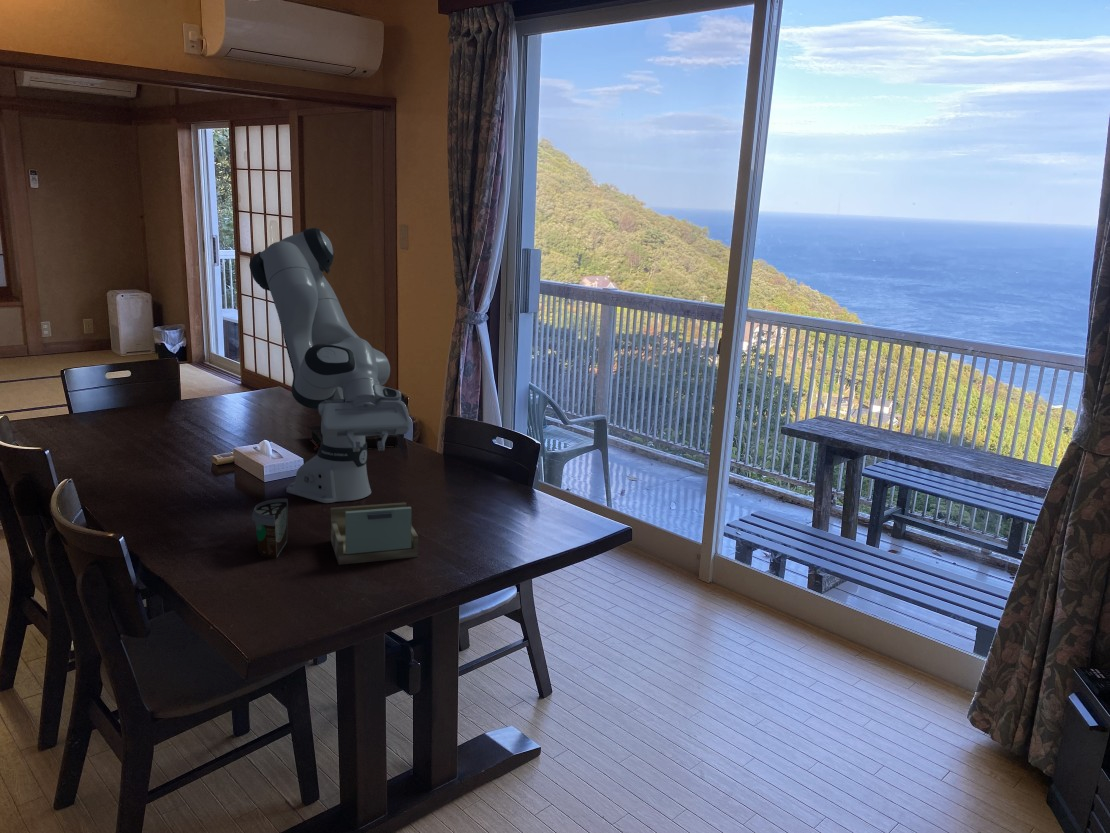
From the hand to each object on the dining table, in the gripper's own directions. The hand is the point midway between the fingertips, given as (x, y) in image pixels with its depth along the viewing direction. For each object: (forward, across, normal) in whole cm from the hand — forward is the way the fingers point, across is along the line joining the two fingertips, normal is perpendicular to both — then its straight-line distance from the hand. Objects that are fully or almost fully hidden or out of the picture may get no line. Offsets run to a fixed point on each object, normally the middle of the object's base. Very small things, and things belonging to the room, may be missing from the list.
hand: (369, 449), depth 182 cm
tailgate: (+24, 0, +4) cm, 24 cm away
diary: (-43, +8, +74) cm, 86 cm away
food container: (+16, -22, +14) cm, 31 cm away
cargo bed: (+20, 0, +10) cm, 22 cm away
